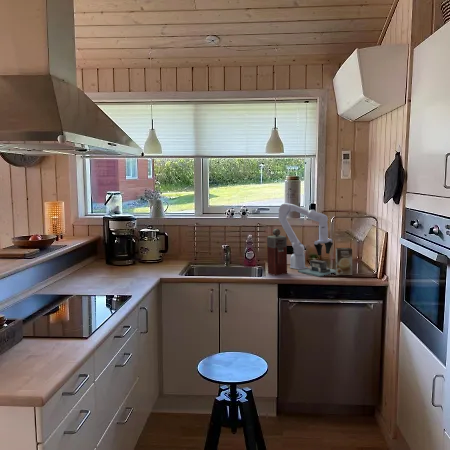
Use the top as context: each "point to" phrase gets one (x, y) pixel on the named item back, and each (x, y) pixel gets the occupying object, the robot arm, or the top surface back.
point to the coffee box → (343, 261)
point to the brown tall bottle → (277, 253)
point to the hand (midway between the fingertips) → (323, 254)
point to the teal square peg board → (316, 273)
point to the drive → (318, 265)
